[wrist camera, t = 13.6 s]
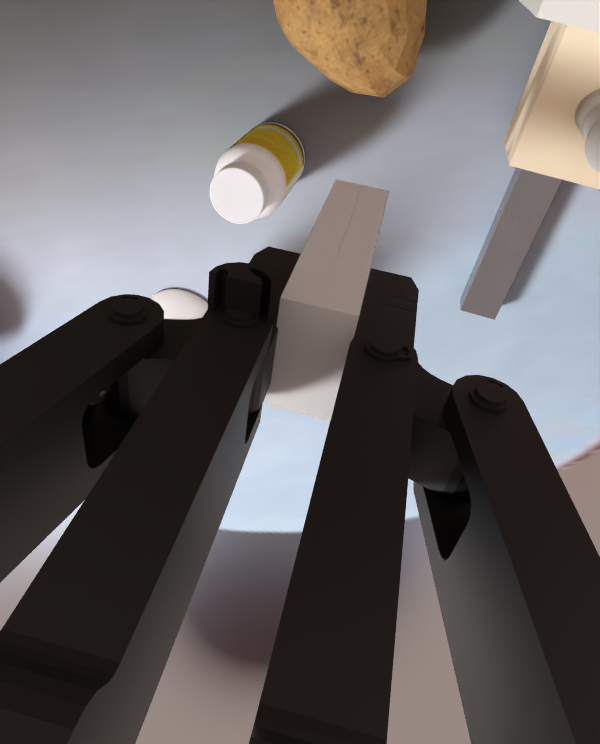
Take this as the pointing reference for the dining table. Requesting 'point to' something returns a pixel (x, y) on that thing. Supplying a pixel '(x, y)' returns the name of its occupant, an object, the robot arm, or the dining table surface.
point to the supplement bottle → (257, 173)
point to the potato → (357, 39)
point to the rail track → (508, 241)
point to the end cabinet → (567, 12)
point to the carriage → (560, 109)
